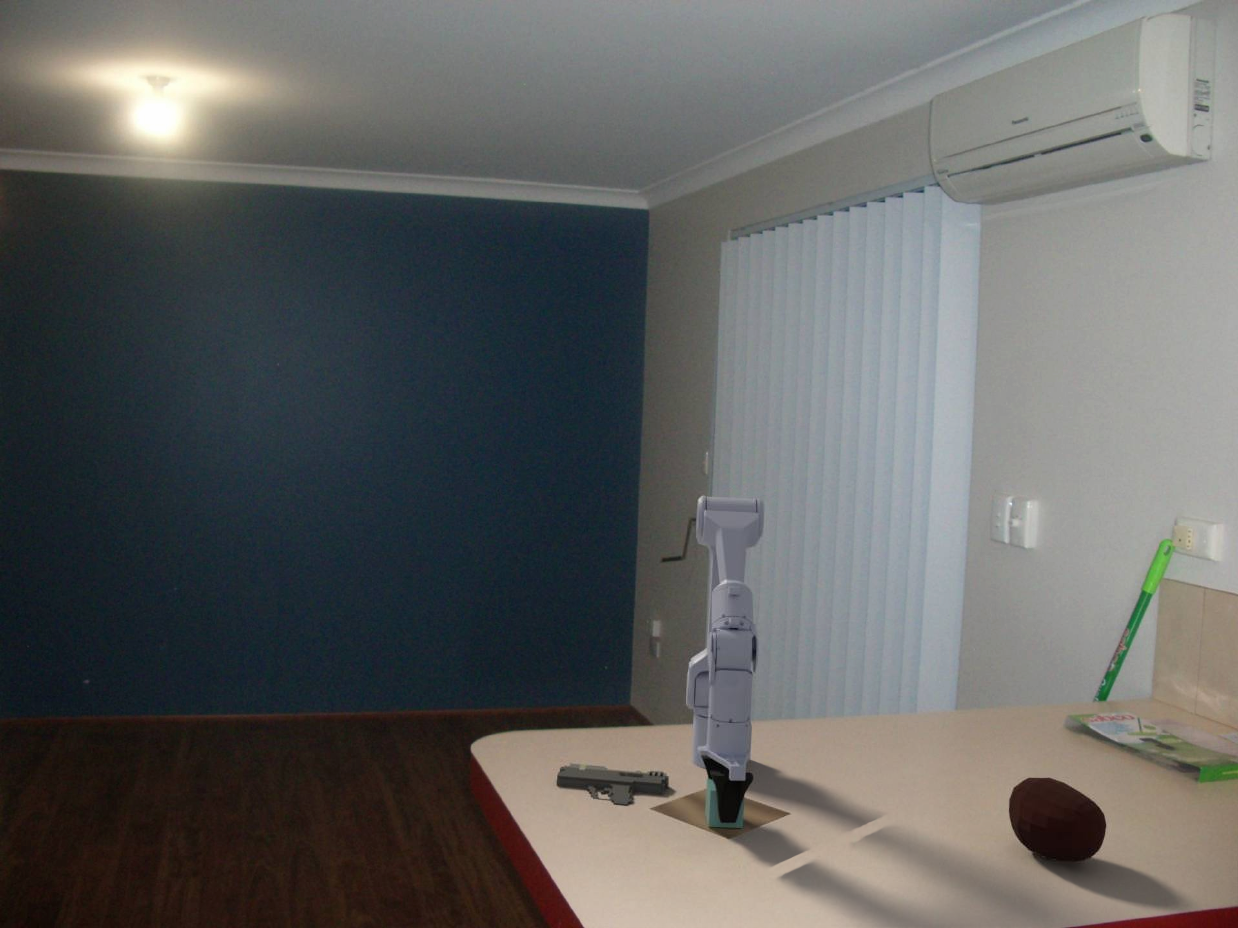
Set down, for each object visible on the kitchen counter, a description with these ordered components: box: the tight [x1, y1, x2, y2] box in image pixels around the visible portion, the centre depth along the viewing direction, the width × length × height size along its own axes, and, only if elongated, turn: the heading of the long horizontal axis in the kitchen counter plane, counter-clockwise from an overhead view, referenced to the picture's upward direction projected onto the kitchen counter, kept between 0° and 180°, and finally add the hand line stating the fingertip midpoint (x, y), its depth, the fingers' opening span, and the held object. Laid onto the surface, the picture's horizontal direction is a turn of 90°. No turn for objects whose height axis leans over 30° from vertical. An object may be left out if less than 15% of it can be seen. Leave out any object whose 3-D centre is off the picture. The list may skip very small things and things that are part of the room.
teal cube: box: [705, 778, 744, 828], centre depth 164 cm, size 5×5×5 cm
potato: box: [1008, 777, 1107, 863], centre depth 159 cm, size 11×13×10 cm
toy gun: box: [556, 763, 670, 807], centre depth 175 cm, size 4×16×10 cm
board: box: [649, 788, 792, 840], centre depth 169 cm, size 14×14×4 cm
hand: (724, 814), depth 164 cm, fingers closed on teal cube, 5 cm apart
